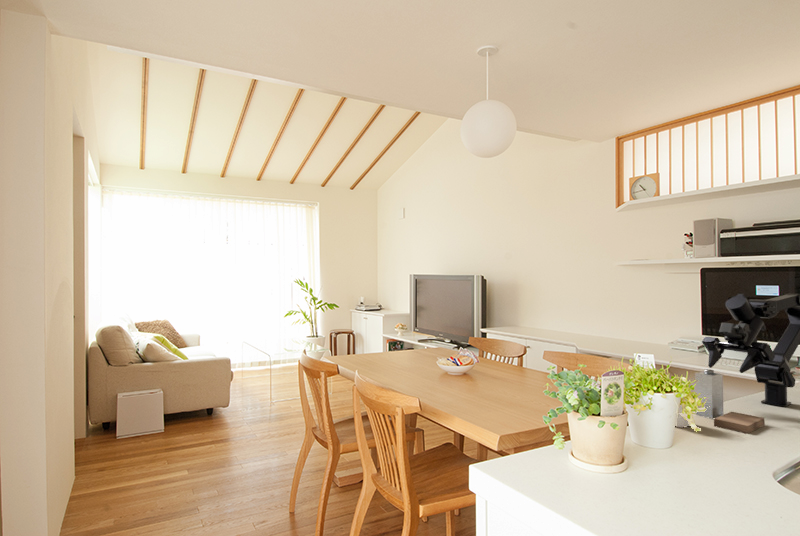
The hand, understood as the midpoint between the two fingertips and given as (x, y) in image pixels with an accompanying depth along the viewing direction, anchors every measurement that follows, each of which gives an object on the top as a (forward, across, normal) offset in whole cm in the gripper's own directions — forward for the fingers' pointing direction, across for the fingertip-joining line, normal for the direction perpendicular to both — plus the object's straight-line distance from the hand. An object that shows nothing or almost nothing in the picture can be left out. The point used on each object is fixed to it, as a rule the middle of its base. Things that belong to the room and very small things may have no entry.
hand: (724, 369), depth 147 cm
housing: (+14, 0, +4) cm, 15 cm away
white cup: (+26, +1, -7) cm, 27 cm away
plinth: (+16, +10, +3) cm, 19 cm away
